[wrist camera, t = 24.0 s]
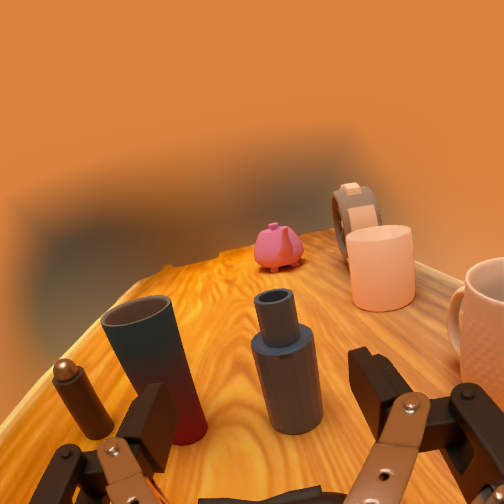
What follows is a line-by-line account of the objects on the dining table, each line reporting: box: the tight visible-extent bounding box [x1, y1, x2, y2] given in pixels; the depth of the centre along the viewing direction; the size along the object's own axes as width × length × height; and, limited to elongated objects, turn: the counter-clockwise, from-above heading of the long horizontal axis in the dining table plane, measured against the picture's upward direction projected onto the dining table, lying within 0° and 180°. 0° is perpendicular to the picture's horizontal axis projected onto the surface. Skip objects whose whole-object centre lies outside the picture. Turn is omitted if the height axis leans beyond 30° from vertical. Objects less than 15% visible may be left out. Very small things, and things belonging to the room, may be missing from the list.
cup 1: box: [100, 295, 207, 445], centre depth 26 cm, size 7×7×15 cm
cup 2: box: [346, 225, 415, 312], centre depth 47 cm, size 12×12×12 cm
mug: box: [447, 257, 504, 413], centre depth 19 cm, size 15×11×13 cm
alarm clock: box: [331, 183, 382, 267], centre depth 65 cm, size 18×8×20 cm, turn 173°
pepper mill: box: [52, 359, 114, 440], centre depth 26 cm, size 4×4×10 cm
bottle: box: [251, 289, 323, 435], centre depth 25 cm, size 5×5×14 cm
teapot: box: [254, 223, 304, 273], centre depth 82 cm, size 20×14×12 cm
